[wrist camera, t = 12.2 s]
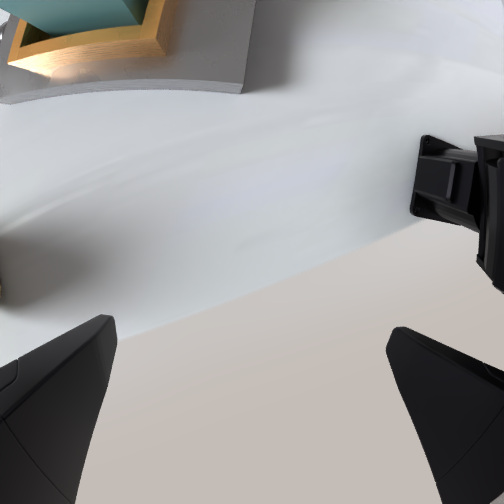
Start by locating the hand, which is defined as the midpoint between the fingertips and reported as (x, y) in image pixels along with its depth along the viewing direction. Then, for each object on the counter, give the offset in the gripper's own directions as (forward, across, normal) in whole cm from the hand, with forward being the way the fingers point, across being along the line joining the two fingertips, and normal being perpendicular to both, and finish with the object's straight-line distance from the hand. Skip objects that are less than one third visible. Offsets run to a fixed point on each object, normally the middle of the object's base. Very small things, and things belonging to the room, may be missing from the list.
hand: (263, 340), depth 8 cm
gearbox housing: (+12, +10, -15) cm, 22 cm away
